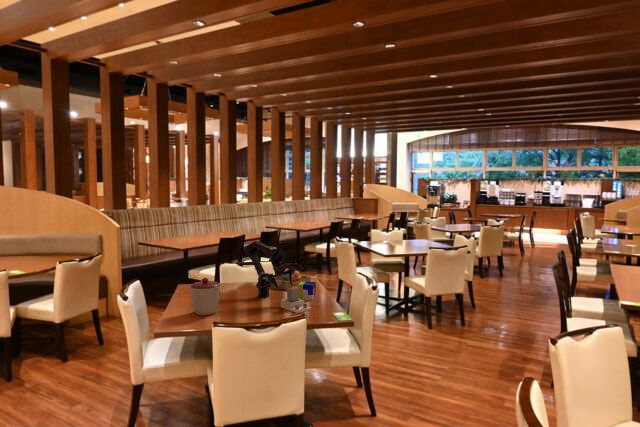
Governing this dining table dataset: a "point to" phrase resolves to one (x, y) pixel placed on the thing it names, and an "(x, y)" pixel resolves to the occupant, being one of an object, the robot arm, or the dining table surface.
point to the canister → (205, 296)
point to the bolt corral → (285, 284)
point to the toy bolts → (294, 277)
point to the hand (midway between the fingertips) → (284, 286)
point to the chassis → (295, 305)
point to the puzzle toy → (306, 290)
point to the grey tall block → (292, 294)
